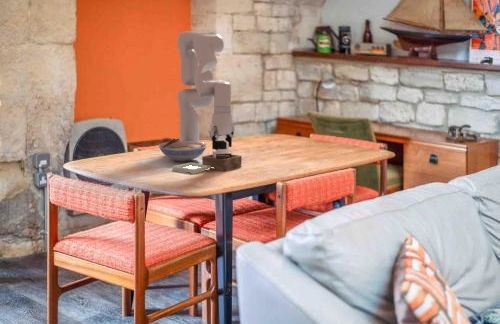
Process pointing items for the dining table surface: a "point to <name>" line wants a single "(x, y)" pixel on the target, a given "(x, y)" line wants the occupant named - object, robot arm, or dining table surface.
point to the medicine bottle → (222, 150)
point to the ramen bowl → (182, 149)
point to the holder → (222, 162)
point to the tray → (192, 171)
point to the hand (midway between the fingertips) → (222, 148)
